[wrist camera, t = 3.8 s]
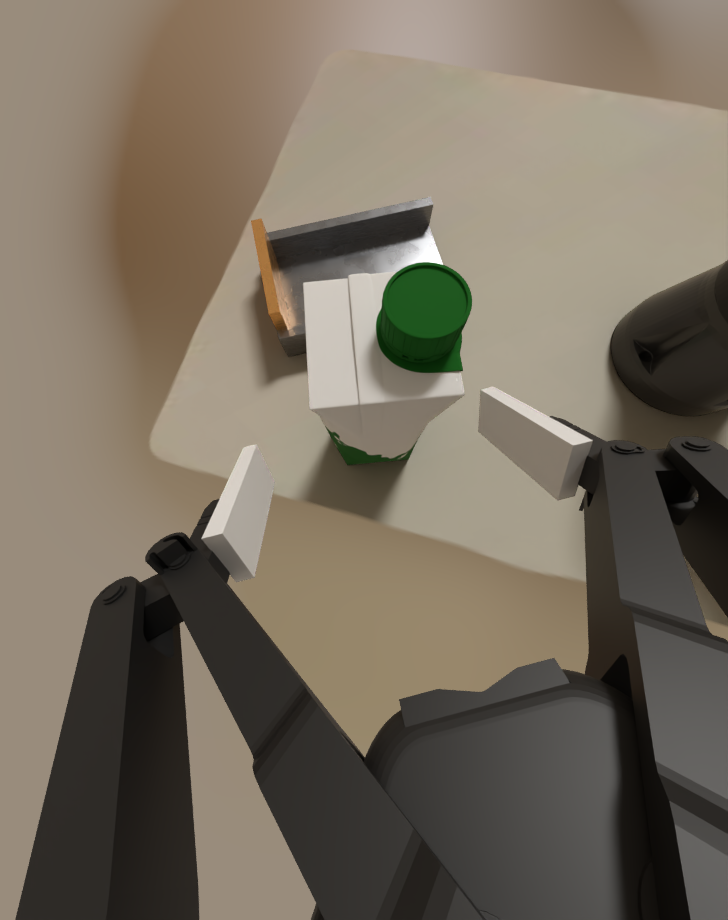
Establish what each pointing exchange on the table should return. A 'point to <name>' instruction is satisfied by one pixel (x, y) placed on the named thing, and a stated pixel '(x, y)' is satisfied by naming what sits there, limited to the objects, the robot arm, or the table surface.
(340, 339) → the soya milk
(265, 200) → the table surface
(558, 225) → the table surface
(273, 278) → the rail channel
